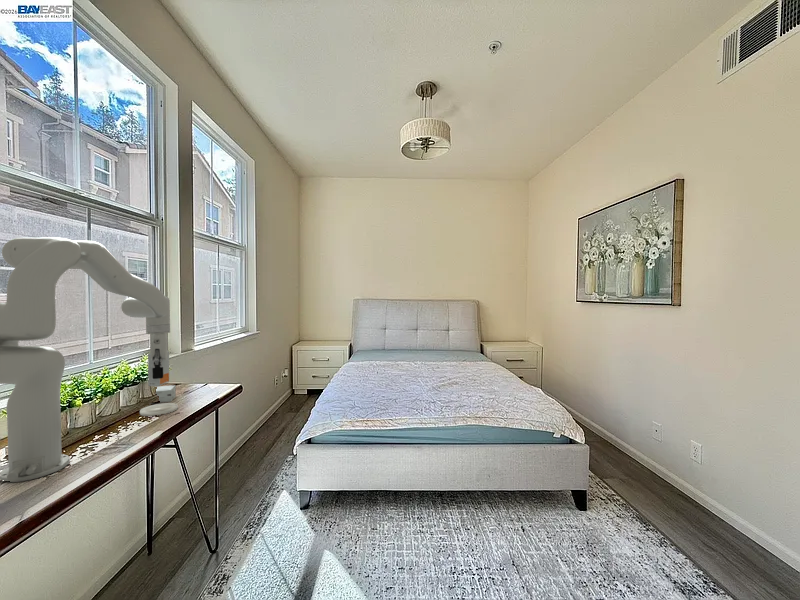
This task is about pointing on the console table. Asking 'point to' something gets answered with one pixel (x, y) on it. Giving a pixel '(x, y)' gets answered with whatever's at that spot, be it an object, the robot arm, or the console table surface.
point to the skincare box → (165, 372)
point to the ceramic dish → (158, 409)
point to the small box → (166, 393)
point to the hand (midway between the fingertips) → (159, 375)
